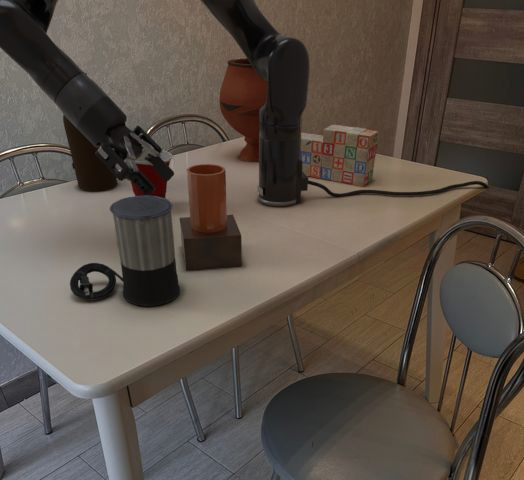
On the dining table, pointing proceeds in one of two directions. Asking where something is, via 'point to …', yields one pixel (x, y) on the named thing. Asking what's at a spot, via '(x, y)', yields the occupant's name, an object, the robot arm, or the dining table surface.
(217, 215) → the terracotta cup
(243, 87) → the goblet
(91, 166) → the olive oil
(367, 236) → the dining table surface
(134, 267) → the milk frother
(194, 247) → the walnut block
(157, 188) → the plastic cup
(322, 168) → the stack of blocks
